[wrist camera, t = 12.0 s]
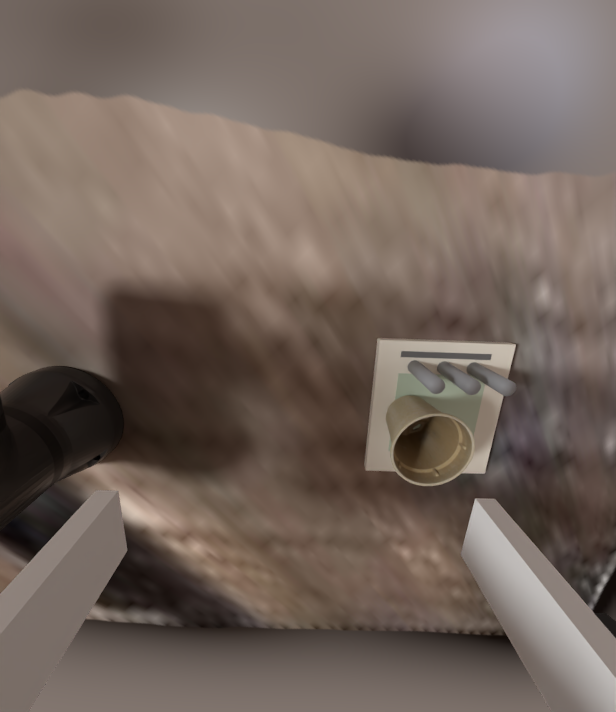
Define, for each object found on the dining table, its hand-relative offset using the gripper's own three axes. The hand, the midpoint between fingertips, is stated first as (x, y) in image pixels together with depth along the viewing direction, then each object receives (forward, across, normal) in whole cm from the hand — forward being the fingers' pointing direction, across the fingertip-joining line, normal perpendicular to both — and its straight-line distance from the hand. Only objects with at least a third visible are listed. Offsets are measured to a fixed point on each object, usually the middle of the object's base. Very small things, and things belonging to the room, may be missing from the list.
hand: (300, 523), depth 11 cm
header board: (+29, +20, -9) cm, 36 cm away
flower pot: (+28, +16, -10) cm, 33 cm away
